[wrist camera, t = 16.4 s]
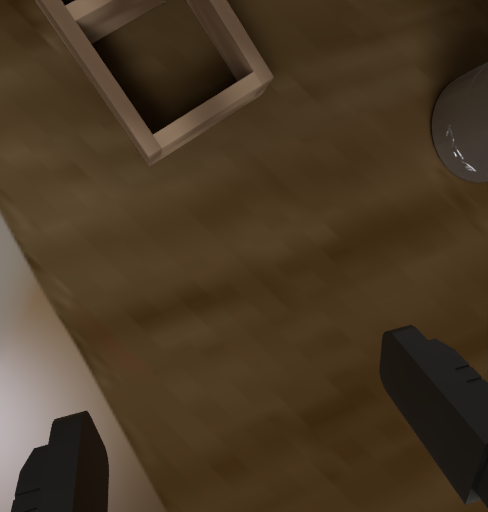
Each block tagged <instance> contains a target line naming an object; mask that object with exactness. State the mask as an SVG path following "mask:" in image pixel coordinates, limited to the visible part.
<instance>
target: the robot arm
mask: <svg viewBox="0 0 488 512" xmlns="http://www.w3.org/2000/svg"><path fill="white" fill-rule="evenodd" d="M432 136H433V141H434V145H435V148H436V150H437V152H438V155H439V157H440V158H441V160H442V161H443V163H444V164H445V166H446V167H447V168H448V169H449V170H450V171H451V172H453V173H454V174H455V175H457V176H459V177H460V178H462V179H464V180H467V181H471V182H481V183H482V182H488V62H486V63H484V64H483V65H481V66H479V67H477V68H475V69H473V70H472V71H470V72H468V73H466V74H464V75H462V76H460V77H459V78H457V79H456V80H454V81H453V82H451V83H450V84H449V85H448V86H447V87H446V88H445V89H444V90H443V91H442V93H441V95H440V96H439V98H438V100H437V102H436V105H435V108H434V111H433V117H432ZM380 377H381V381H382V384H383V386H384V388H385V390H386V392H387V393H388V395H389V396H390V398H391V399H392V400H393V402H394V403H395V405H396V406H397V408H398V409H399V410H400V412H401V413H402V415H403V416H404V418H405V419H406V420H407V422H408V423H409V425H410V426H411V428H412V429H413V430H414V432H415V433H416V435H417V436H418V438H419V439H420V440H421V442H422V443H423V445H424V446H425V448H426V449H427V451H428V452H429V453H430V455H431V456H432V458H433V459H434V461H435V462H436V463H437V465H438V466H439V468H440V469H441V471H442V472H443V473H444V475H445V476H446V478H447V479H448V481H449V482H450V483H451V485H452V486H453V488H454V489H455V491H456V492H457V494H458V495H459V496H460V498H461V499H462V501H463V502H464V504H465V505H466V504H469V503H472V502H475V501H478V500H482V501H483V503H484V504H485V505H486V507H487V508H488V383H487V382H486V381H485V380H482V378H481V376H480V375H479V374H478V373H477V372H476V371H475V370H474V369H473V368H472V367H470V366H469V364H468V363H467V362H466V361H465V360H464V359H463V358H462V357H461V356H460V355H459V354H458V353H457V352H456V350H454V349H453V348H451V347H449V346H447V345H446V344H444V343H442V342H440V341H438V340H437V339H432V340H429V341H428V340H427V339H426V338H425V337H424V336H423V335H422V334H421V332H420V331H419V330H418V329H417V328H416V327H414V326H412V325H408V326H405V327H401V328H397V329H393V330H390V331H386V332H384V334H383V338H382V348H381V359H380ZM108 481H109V464H108V457H107V452H106V449H105V446H104V444H103V442H102V439H101V437H100V435H99V433H98V431H97V429H96V427H95V425H94V422H93V420H92V418H91V416H90V414H89V413H88V412H87V411H84V412H80V413H76V414H72V415H68V416H65V417H61V418H57V419H55V420H54V421H53V424H52V427H51V432H50V438H49V443H48V445H45V446H41V447H38V448H34V450H33V451H32V453H31V454H30V456H29V458H28V459H27V461H26V463H25V464H24V466H23V468H22V469H21V471H20V474H19V479H18V483H17V487H16V492H15V500H14V501H13V505H12V509H11V512H107V511H108V484H109V482H108Z"/></svg>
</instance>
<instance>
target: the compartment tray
mask: <svg viewBox="0 0 488 512" xmlns="http://www.w3.org/2000/svg"><path fill="white" fill-rule="evenodd" d="M166 1H168V0H75V1H73V2H71V3H69V4H67V5H66V6H65V5H64V3H63V2H62V0H35V2H36V3H37V4H38V6H39V7H40V9H41V10H42V12H43V13H44V15H45V16H46V17H47V19H48V20H49V22H50V23H51V25H52V26H53V28H54V29H55V30H56V32H57V33H58V35H59V36H60V38H61V39H62V41H63V42H64V44H65V45H66V46H67V48H68V49H69V51H70V52H71V54H72V55H73V57H74V58H75V59H76V61H77V62H78V64H79V65H80V67H81V68H82V70H83V71H84V73H85V74H86V75H87V77H88V78H89V80H90V81H91V83H92V84H93V86H94V87H95V88H96V90H97V91H98V93H99V94H100V96H101V97H102V99H103V100H104V101H105V103H106V104H107V106H108V107H109V109H110V110H111V112H112V113H113V115H114V116H115V117H116V119H117V120H118V122H119V123H120V125H121V126H122V128H123V129H124V130H125V132H126V133H127V135H128V136H129V138H130V139H131V141H132V142H133V143H134V145H135V146H136V148H137V149H138V151H139V152H140V154H141V155H142V157H143V158H144V159H145V161H146V162H147V164H148V165H149V167H150V166H151V165H153V164H155V163H156V162H158V161H159V160H161V159H162V158H164V157H165V156H167V155H169V154H170V153H172V152H173V151H175V150H176V149H178V148H180V147H181V146H183V145H184V144H186V143H187V142H189V141H190V140H192V139H194V138H195V137H197V136H198V135H200V134H201V133H203V132H205V131H206V130H208V129H209V128H211V127H212V126H214V125H215V124H217V123H219V122H220V121H222V120H223V119H225V118H226V117H228V116H230V115H231V114H233V113H234V112H236V111H237V110H239V109H240V108H242V107H244V106H245V105H247V104H248V103H250V102H251V101H253V100H255V99H256V98H258V97H259V96H261V95H262V93H263V92H264V90H265V89H266V88H267V86H268V85H269V84H270V82H271V81H272V79H273V78H274V77H273V75H272V73H271V72H270V70H269V68H268V67H267V65H266V63H265V62H264V60H263V59H262V57H261V55H260V54H259V52H258V50H257V49H256V47H255V46H254V44H253V42H252V41H251V39H250V37H249V36H248V34H247V33H246V31H245V29H244V28H243V26H242V24H241V23H240V21H239V20H238V18H237V16H236V15H235V13H234V11H233V10H232V8H231V6H230V5H229V3H228V2H227V0H186V1H187V3H188V4H189V6H190V8H191V9H192V11H193V12H194V14H195V16H196V17H197V19H198V20H199V22H200V23H201V25H202V27H203V28H204V30H205V31H206V33H207V35H208V36H209V38H210V39H211V41H212V43H213V44H214V46H215V47H216V49H217V50H218V52H219V54H220V55H221V57H222V58H223V60H224V62H225V63H226V65H227V66H228V68H229V70H230V71H231V73H232V74H233V76H234V77H235V79H236V81H237V83H235V84H233V85H232V86H230V87H229V88H227V89H225V90H224V91H222V92H221V93H219V94H217V95H216V96H214V97H213V98H211V99H209V100H208V101H206V102H205V103H203V104H201V105H200V106H198V107H197V108H195V109H193V110H192V111H190V112H189V113H187V114H185V115H184V116H182V117H181V118H179V119H177V120H176V121H174V122H173V123H171V124H169V125H168V126H166V127H165V128H163V129H161V130H160V131H158V132H157V133H155V134H152V133H151V131H150V130H149V128H148V127H147V125H146V124H145V123H144V121H143V120H142V118H141V117H140V115H139V114H138V112H137V111H136V109H135V108H134V106H133V105H132V103H131V102H130V100H129V99H128V98H127V96H126V95H125V93H124V92H123V90H122V89H121V87H120V86H119V84H118V83H117V81H116V80H115V78H114V77H113V75H112V74H111V72H110V71H109V70H108V68H107V67H106V65H105V64H104V62H103V61H102V59H101V58H100V56H99V55H98V53H97V52H96V50H95V49H94V47H93V46H92V45H91V44H92V43H94V42H96V41H97V40H99V39H101V38H103V37H104V36H106V35H108V34H110V33H111V32H113V31H115V30H117V29H118V28H120V27H122V26H124V25H125V24H127V23H129V22H131V21H133V20H134V19H136V18H138V17H140V16H141V15H143V14H145V13H147V12H148V11H150V10H152V9H154V8H155V7H157V6H159V5H161V4H162V3H164V2H166Z"/></svg>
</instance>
